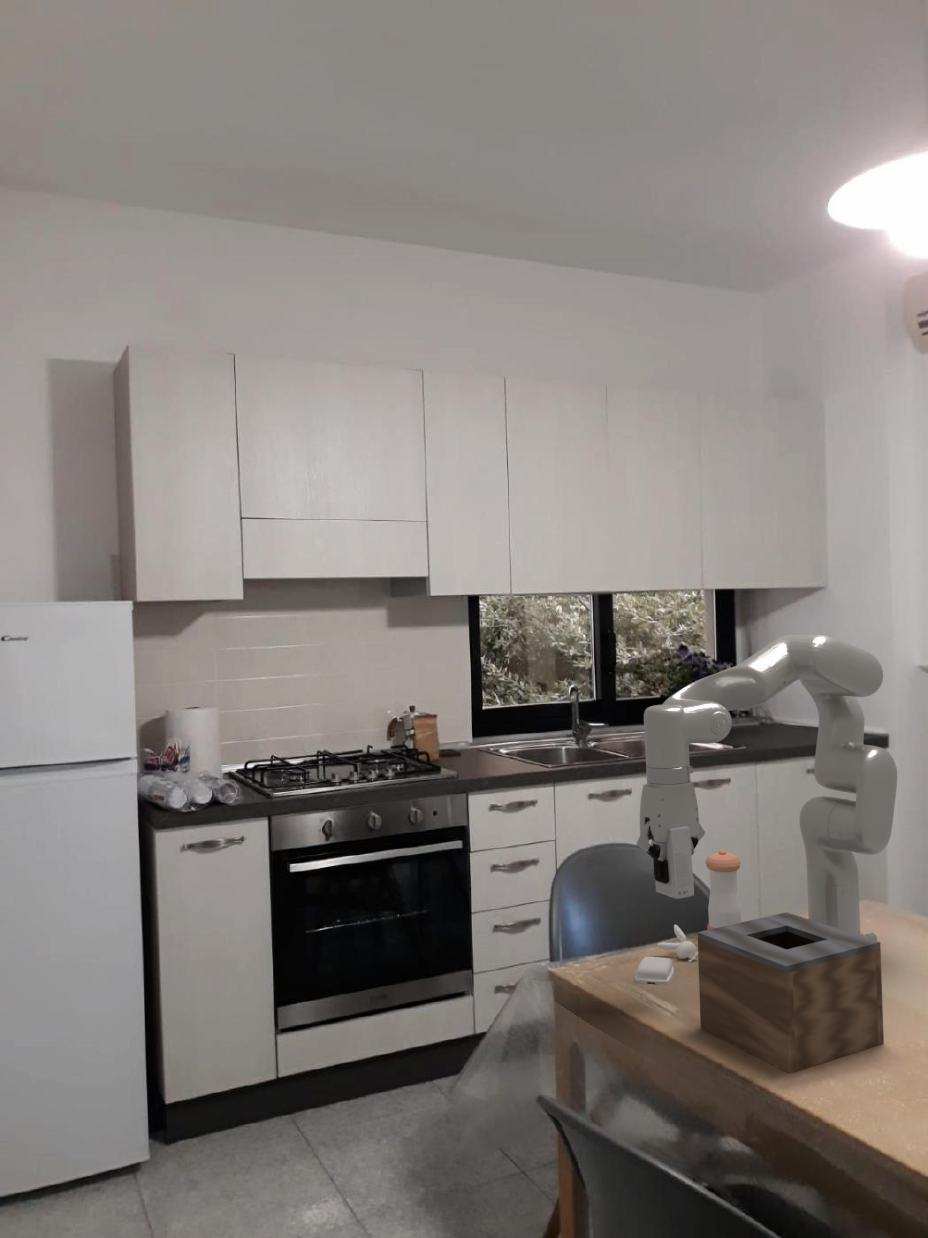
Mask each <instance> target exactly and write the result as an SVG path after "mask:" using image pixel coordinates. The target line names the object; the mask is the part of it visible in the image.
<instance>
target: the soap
mask: <svg viewBox="0 0 928 1238" xmlns="http://www.w3.org/2000/svg"><path fill="white" fill-rule="evenodd" d="M674 974H675V967H674V966H673V963H672V959H670V958H669V957H658V956H657V957H656V956H644V957H643V958H642V960H641V961H640V963H638V967H637V970H636V974H635V976H634V982H635V983H638V982H639V983H640V984H647V985H648V983H654V985H663V986H665V985H669V984H670V983H671V982H672V981H673V978H674Z"/></svg>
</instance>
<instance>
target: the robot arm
mask: <svg viewBox="0 0 928 1238" xmlns="http://www.w3.org/2000/svg"><path fill="white" fill-rule="evenodd" d="M883 679H884V672H883V667H882V664H881V663H880V661H879V659H878V658H877V657H876V656H874V654H873V653H870V652H868V651H866V650H864V649H863V648H859V647H857V646H854V645H851V644H850V643H848V642H845V641H843V640H840V639H837V638H835V637H832V636H829V635H825V634H813V633H812V634H809V633H808V634H800V633H799V634H798V633H797V634H786V635H785V634H784V635H782V636H779V637H778V638H775V639H774V640H772V641H771V642H769V643H768V644H767V645H765V646H763V647H762V648H760V649H759V650H758V651H756V652H755V653H753V654H752V655H751V656H749V657H748V658H746V659H745V660H743V661H741V662H740V663H738V664H737V665H735V666H732V667H729V668H726V669H723V670H721V671H719V672H717V673H713V674H711V675H708V676H705V677H703V678H700V679H698V680H695V681H694V682H691V683H689V684H687V685H686V686H684V687H682V688H681V689H679V690H678V691H676V692H675V693H673V695H670V696H669V697H668V698H667V699H665V700H664V701H663V703H662V704H657V705H652V706H650V705H649V707H646V709H645V710H644V713H643V728H644V748H645V749H644V750H645V767H646V769H645V770H646V772H645V773H646V784H643V785H642V789H641V795H640V807H639V834H640V836H639V837H638V839H637V840H636V846H637V847H639V848H640V849H642V850H643V851H645V852H646V853H647V854H648V855H649V857H650V859H652V860H653V876H654V880H656V881H658V882H661V883H664V884H666V883H668V882H669V871H668V861H667V860H665V855H666V847H667V846H666V843H667V842H668V841H669V830H670V829H675V828H681V827H689V832H690V845H691V856H693V855H694V854H695V849H696V847H697V846H698V844H699V841H701V840H702V838H703V837H704V836H705V834H706V832H705V830H704V829H703V826H702V825H701V824H700V814H699V808H698V807H699V806H698V801H697V794H696V790H695V789H696V788H695V785H694V782H693V781H691V774H693V773H694V769H695V768H694V767H693V766H692V765H690V749H689V748H690V745H691V744H707V745H709V744H716V743H718V742H721V741H722V740H724V739H725V738H726V737H727V736H728V735H729V734H730V731H731V729H732V725H733V721H732V715H731V714H730V711H739V710H745V709H751V708H755V707H759V706H761V705H764V704H765V703H767V702H768V701H770V700H771V699H773V698H774V697H776V695H777V694H779V693H781V692H782V691H783V690H784V689H786V688H787V687H789V686H790V685H793V683H795V682H796V681H800V683H801V685H802V686H803V687H804V689H805V690H806V691H807V692H808V694H809V696H811V698H812V700H813V703H814V704H815V706H816V709H817V713H818V728H817V729H818V730H817V739H816V746H815V754H814V755H815V756H814V764H813V765H814V766H813V772H814V773H813V774H814V779H815V781H816V782H817V784H819V785H820V786H821V787H823V788H825V789H828V790H833V791H837V792H842V793H843V792H844V793H849V794H855V795H856V796H855V800H850V799H848V798H841V797H836V796H835V797H834V796H816V797H812V798H810V799H809V800H808V801H806V802H805V803H804V804H803V805H802V807H801V809H800V812H799V828H800V833H801V837H802V840H803V846H804V851H805V852H804V853H805V860H806V863H805V864H806V882H807V883H806V884H807V888H806V889H807V912H808V915H807V916H808V919H809V920H812V921H816V922H819V923H822V924H825V925H828V926H831V927H834V928H837V929H841V930H844V931H847V932H850V933H853V934H856V935H859V936H863V937H866V938H869V939H872V940H875V941H878V937H877V934H876V933H874V932H869V933H865V934H864V933H861V916H860V914H861V913H860V911H861V910H860V889H859V888H860V886H859V883H860V882H859V881H860V880H859V878H860V877H859V868H858V863H857V861H856V858H855V856H854V853H856V854H862V855H877V854H879V853H881V852H883V851H884V850H885V848H886V847H887V846H888V844H889V842H890V839H891V835H892V830H893V823H894V816H895V815H894V813H895V812H894V811H895V805H896V796H897V795H896V794H897V787H898V770H897V766H896V762H895V759H894V758H893V756H892V755H891V754H892V753H890V752H889V751H887V750H886V749H885V748H883V747H881V746H880V747H879V746H877V745H870V744H864V739H865V738H864V737H865V735H864V734H865V716H864V715H865V714H864V712H863V709H862V706H861V704H860V703H859V701H858V699H857V698H866V697H869V696H872V695H873V694H875V693H877V692H878V691H879V689H880V687H882V686H881V685H882V683H883ZM650 840H651V844H650V842H649V841H650ZM658 845H659V851H658Z"/></svg>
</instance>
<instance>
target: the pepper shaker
mask: <svg viewBox="0 0 928 1238" xmlns="http://www.w3.org/2000/svg"><path fill="white" fill-rule="evenodd" d="M705 866H706V867H707V870H709V885H710V887H709V888H710V889H709V899H708V906H707V909H708V910H707V911H708V923H707V930H710V929H714V928H719V927H723V926H728V925H732V924H737V923H741V922H742V906H741V905H742V904H741V901H740V896H739V895H740V894H739V890H738V871H739V869H740V867H741V861H740V858H739V857H738V856H737V855H735V854H734V853H731V852H727V851H726V849H720V850H718V852H713V853H712V854H710V855H708V856H707V858H706V861H705Z"/></svg>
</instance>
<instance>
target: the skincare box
mask: <svg viewBox="0 0 928 1238" xmlns="http://www.w3.org/2000/svg"><path fill="white" fill-rule="evenodd" d="M666 846H667V847H666V855H665V860H667V861H668V871H669V882H668V883H666V884H664V883H661V882H658V881H656V880H655V879H654V880H655V881H654V883H655V892H656V893H658V894H662V895H664V896H667V897H670V898H672V899H675V900H680V899H686V898H690V897H694V896H695V885H694V884H695V883H694V875H693V874H694V873H693V862H692V861H693V860H692V859H693V858H692V855H691V845H690V832H689V827H681V828H675V829H670V830H669V841H668V842H667V843H666ZM658 851H659V845H658Z"/></svg>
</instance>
